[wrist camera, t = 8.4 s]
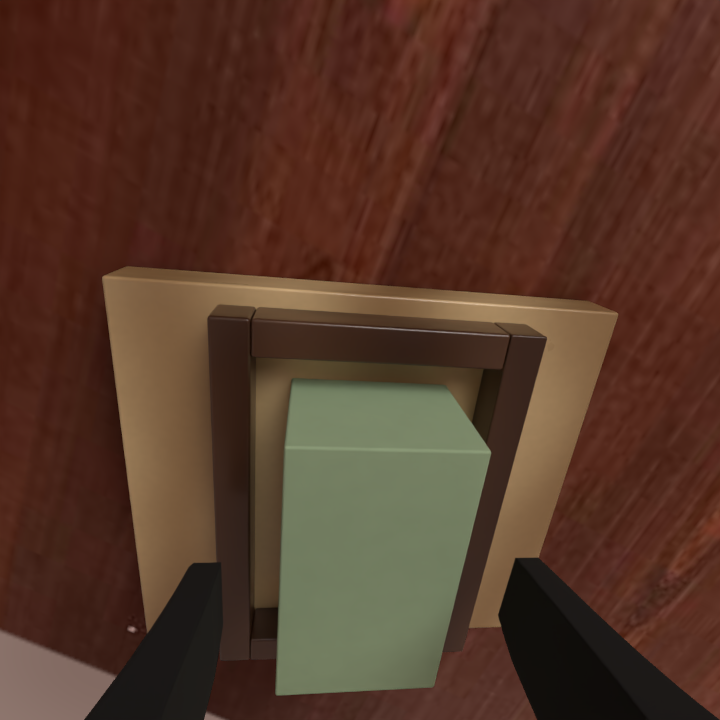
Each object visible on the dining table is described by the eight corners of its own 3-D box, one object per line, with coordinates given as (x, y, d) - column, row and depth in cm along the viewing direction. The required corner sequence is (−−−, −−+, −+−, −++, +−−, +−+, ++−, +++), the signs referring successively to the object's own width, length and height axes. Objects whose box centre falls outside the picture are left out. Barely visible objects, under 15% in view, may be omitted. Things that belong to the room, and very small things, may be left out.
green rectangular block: (283, 585, 15) (274, 696, 11) (291, 377, 12) (283, 447, 9) (408, 583, 15) (434, 688, 12) (445, 384, 12) (493, 452, 9)
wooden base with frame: (160, 602, 16) (133, 676, 14) (125, 265, 12) (74, 285, 9) (501, 594, 18) (530, 658, 16) (588, 300, 14) (651, 325, 11)
